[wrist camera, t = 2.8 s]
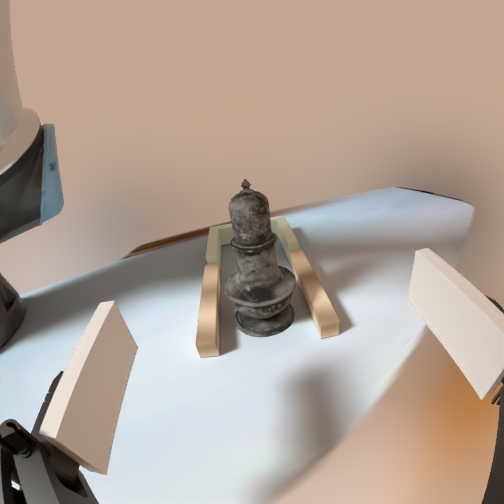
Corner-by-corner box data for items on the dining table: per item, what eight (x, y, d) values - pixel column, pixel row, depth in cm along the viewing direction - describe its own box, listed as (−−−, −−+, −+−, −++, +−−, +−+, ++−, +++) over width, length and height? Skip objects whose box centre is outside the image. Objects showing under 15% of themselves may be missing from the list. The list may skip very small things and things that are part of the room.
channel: (338, 334, 20) (340, 321, 20) (200, 357, 20) (195, 344, 19) (302, 261, 31) (301, 249, 31) (207, 276, 31) (204, 264, 30)
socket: (299, 261, 31) (298, 241, 30) (210, 275, 31) (205, 256, 30) (285, 232, 39) (283, 215, 38) (213, 243, 39) (209, 227, 38)
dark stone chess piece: (269, 288, 27) (254, 168, 22) (311, 315, 23) (306, 174, 17) (219, 315, 25) (189, 185, 19) (257, 350, 20) (230, 196, 15)
